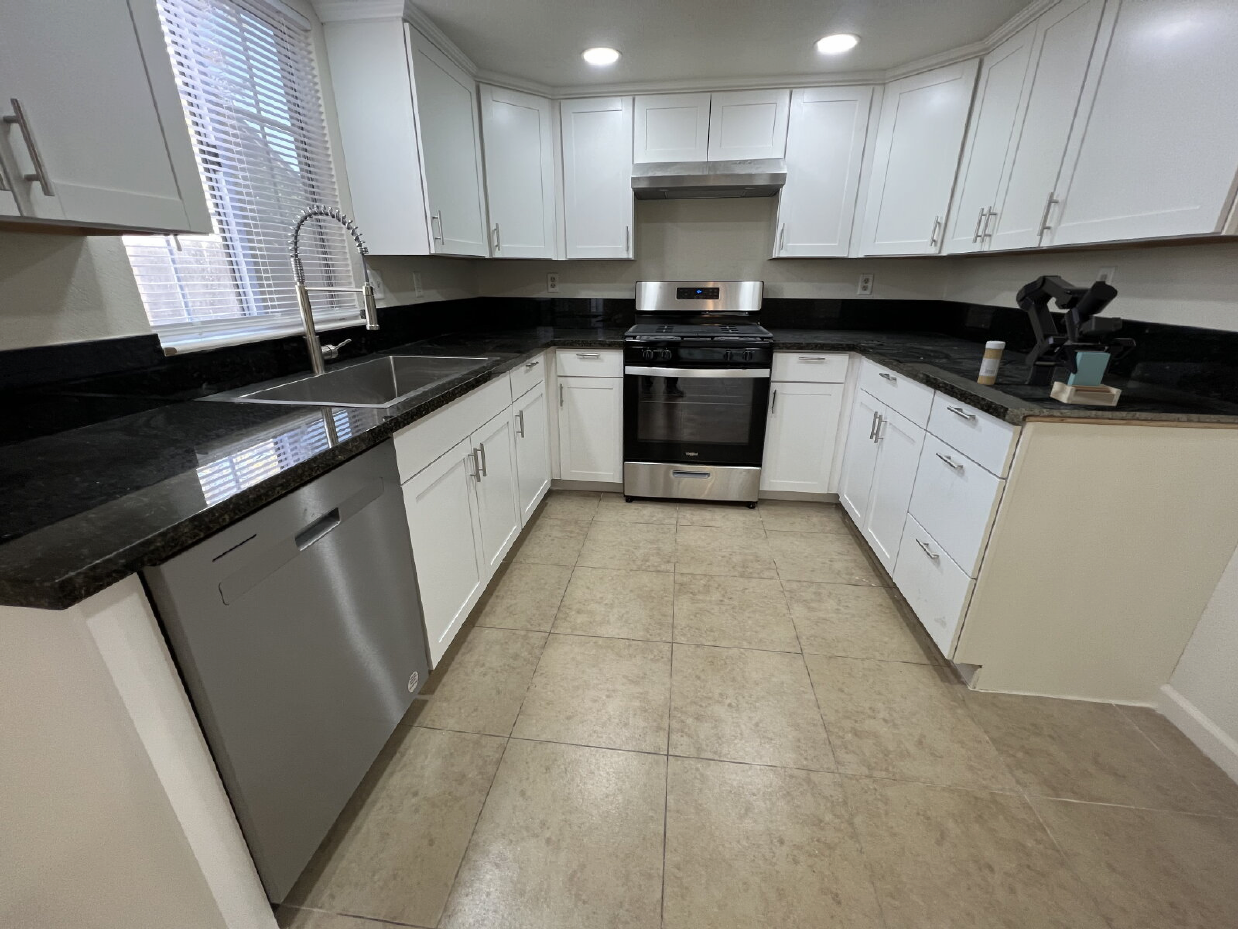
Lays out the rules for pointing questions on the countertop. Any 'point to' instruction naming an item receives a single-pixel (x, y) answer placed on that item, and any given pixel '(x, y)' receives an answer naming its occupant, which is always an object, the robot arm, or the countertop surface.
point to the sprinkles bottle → (990, 362)
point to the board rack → (1084, 395)
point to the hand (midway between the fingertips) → (1090, 373)
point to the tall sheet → (1089, 369)
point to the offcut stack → (1090, 388)
